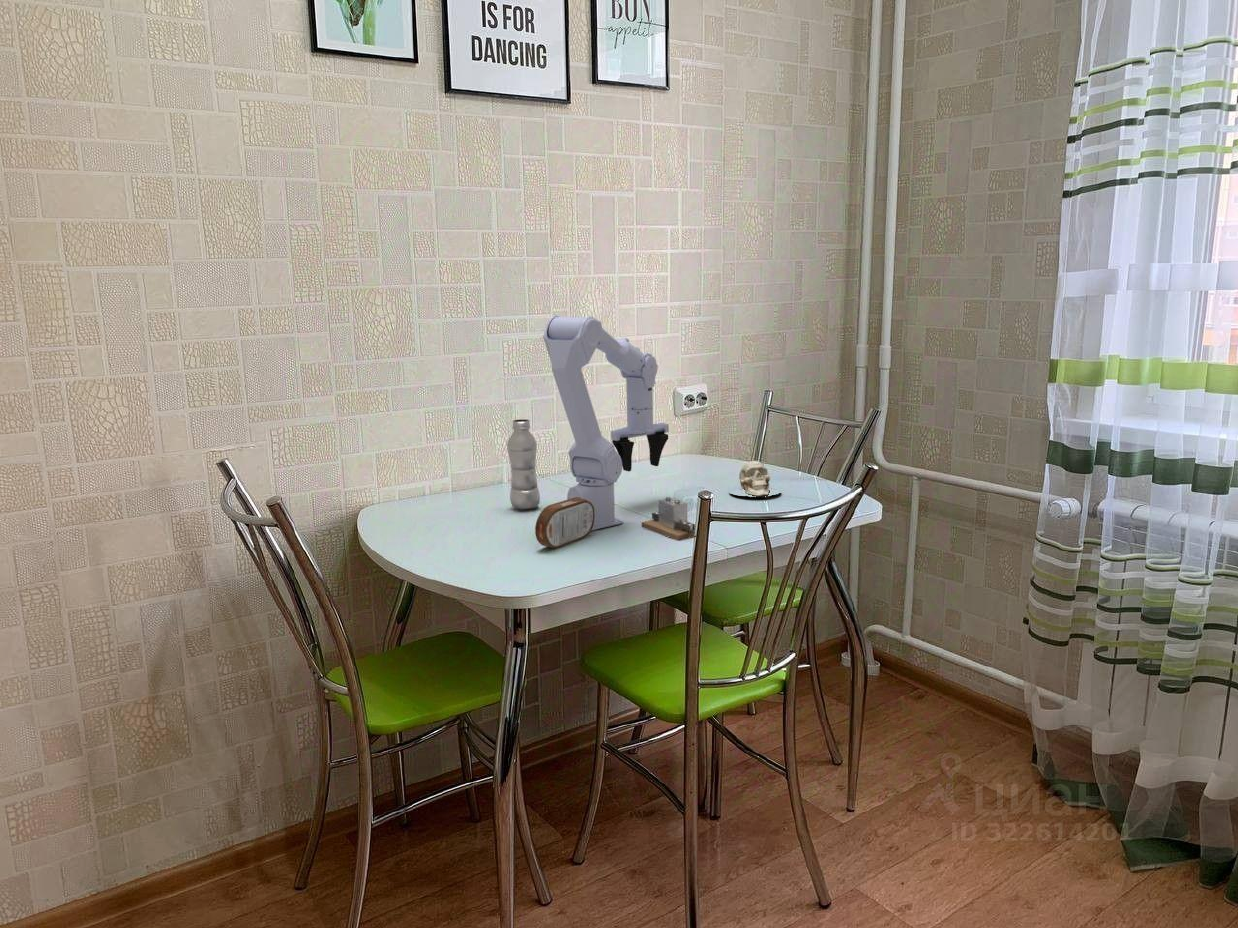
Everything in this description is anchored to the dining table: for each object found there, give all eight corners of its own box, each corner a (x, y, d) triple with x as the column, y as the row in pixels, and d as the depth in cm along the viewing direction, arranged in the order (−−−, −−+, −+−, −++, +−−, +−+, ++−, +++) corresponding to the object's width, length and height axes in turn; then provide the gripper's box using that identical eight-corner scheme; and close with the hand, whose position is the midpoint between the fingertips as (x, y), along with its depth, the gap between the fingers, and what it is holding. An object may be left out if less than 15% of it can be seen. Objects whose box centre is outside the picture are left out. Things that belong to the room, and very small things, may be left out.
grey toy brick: (673, 529, 184) (673, 503, 182) (658, 524, 188) (658, 498, 187) (687, 526, 186) (687, 500, 184) (672, 521, 190) (672, 495, 188)
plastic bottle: (535, 513, 202) (531, 423, 197) (506, 512, 203) (501, 423, 199) (543, 505, 208) (540, 418, 204) (515, 504, 209) (510, 417, 205)
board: (678, 540, 180) (678, 535, 180) (641, 526, 190) (641, 522, 190) (705, 533, 184) (705, 528, 184) (668, 520, 194) (668, 516, 193)
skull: (778, 502, 206) (779, 468, 205) (725, 500, 209) (725, 467, 208) (783, 489, 218) (783, 457, 216) (732, 487, 221) (732, 455, 219)
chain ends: (689, 532, 181) (689, 525, 181) (652, 519, 191) (651, 512, 191) (694, 531, 182) (694, 524, 182) (657, 518, 192) (657, 511, 192)
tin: (586, 532, 187) (585, 492, 185) (598, 534, 185) (597, 494, 184) (534, 551, 176) (532, 508, 174) (546, 554, 174) (544, 511, 172)
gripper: (623, 413, 195) (625, 476, 198) (677, 406, 203) (677, 466, 206) (604, 409, 200) (606, 470, 203) (657, 402, 208) (658, 460, 211)
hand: (640, 467), depth 205 cm, fingers open, 7 cm apart
